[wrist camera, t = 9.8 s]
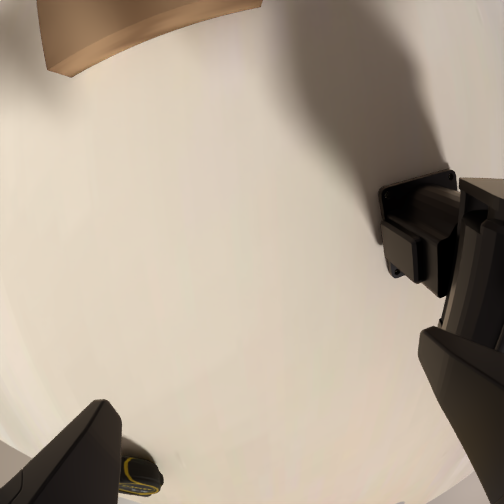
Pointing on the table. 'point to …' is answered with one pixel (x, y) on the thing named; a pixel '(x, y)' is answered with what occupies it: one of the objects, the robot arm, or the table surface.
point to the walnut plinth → (116, 26)
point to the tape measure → (139, 477)
